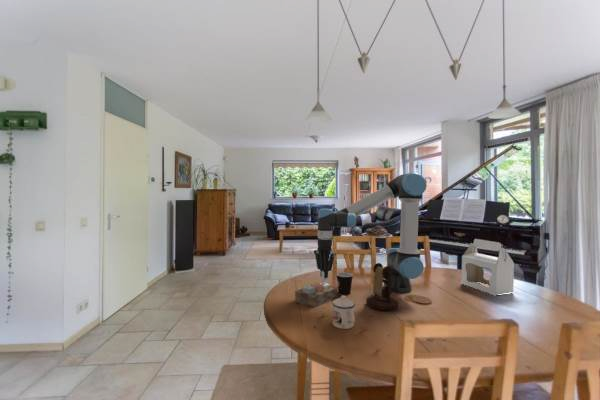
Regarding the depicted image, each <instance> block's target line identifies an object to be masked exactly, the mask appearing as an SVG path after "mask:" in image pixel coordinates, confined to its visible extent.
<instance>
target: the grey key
mask: <svg viewBox="0 0 600 400" xmlns="http://www.w3.org/2000/svg"><path fill="white" fill-rule="evenodd" d="M302 289H303V293H306V294H309V295H310V294H313V293H315V287H313V286H311V284H310V285H305V286H303V287H302Z"/></svg>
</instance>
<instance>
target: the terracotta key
mask: <svg viewBox="0 0 600 400" xmlns="http://www.w3.org/2000/svg"><path fill="white" fill-rule="evenodd" d="M319 283H320V282H315V283H311V284H310V286H313V287H315V291H317V292H318V291H321V290H323V284H319Z"/></svg>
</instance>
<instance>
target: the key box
mask: <svg viewBox="0 0 600 400" xmlns="http://www.w3.org/2000/svg"><path fill="white" fill-rule="evenodd" d="M318 283H319V284H320V283H321V282H318ZM335 299H338V287H336V286H331V285H330V287H329V288H326V289H323V290H321V291H318V292H317V291H315V293H313V294H310V295H309V294H306V293H303V288H300V289H298V290H295V291H294V301H295V302H296V303H299V304H302V305H305V306H308V307H310V308H313V309H314V308H316V307H319V306H322V305H323V304H325V303H328V302H330V301H334V300H335Z"/></svg>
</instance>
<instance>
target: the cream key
mask: <svg viewBox="0 0 600 400" xmlns="http://www.w3.org/2000/svg"><path fill="white" fill-rule="evenodd" d="M319 283H320V284H321V282H319ZM330 286H331V284H330V283H328V282H327V284H324V285H323V289H326V288H329V287H330Z"/></svg>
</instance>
